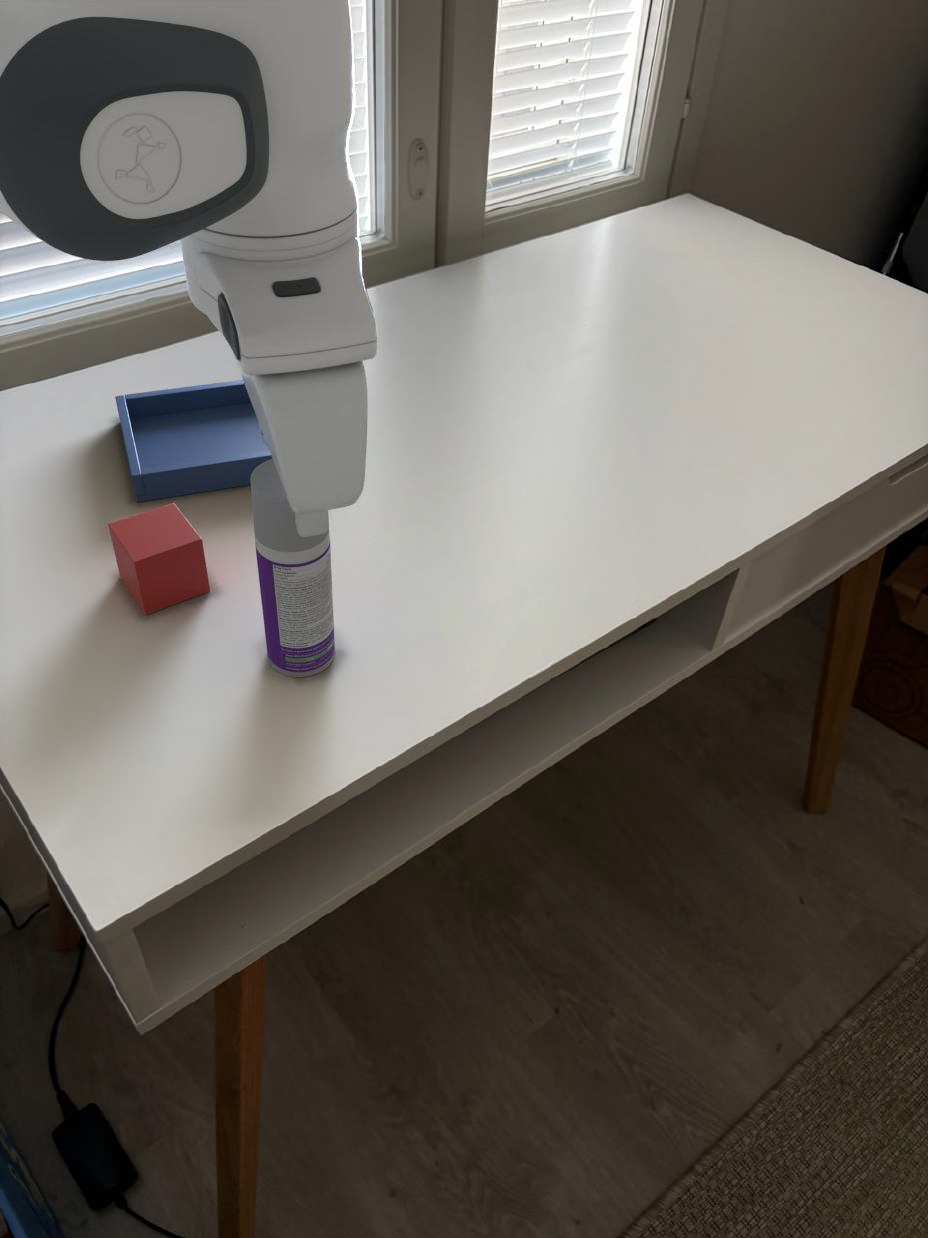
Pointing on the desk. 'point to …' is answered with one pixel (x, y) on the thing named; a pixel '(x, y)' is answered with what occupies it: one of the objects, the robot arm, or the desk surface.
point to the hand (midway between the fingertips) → (292, 481)
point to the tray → (190, 439)
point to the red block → (159, 558)
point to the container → (291, 581)
